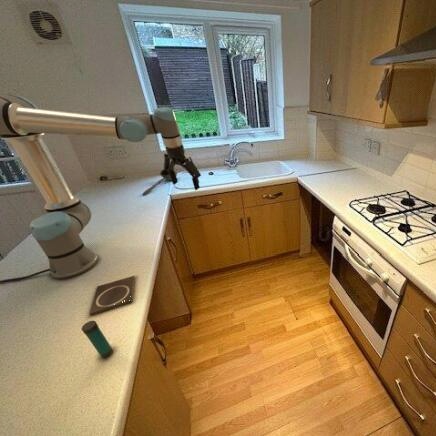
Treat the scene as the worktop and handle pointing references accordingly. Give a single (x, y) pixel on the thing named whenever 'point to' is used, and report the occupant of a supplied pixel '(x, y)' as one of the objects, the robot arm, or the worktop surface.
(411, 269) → the worktop surface
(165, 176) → the ladle
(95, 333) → the marker
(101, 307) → the induction cooktop
